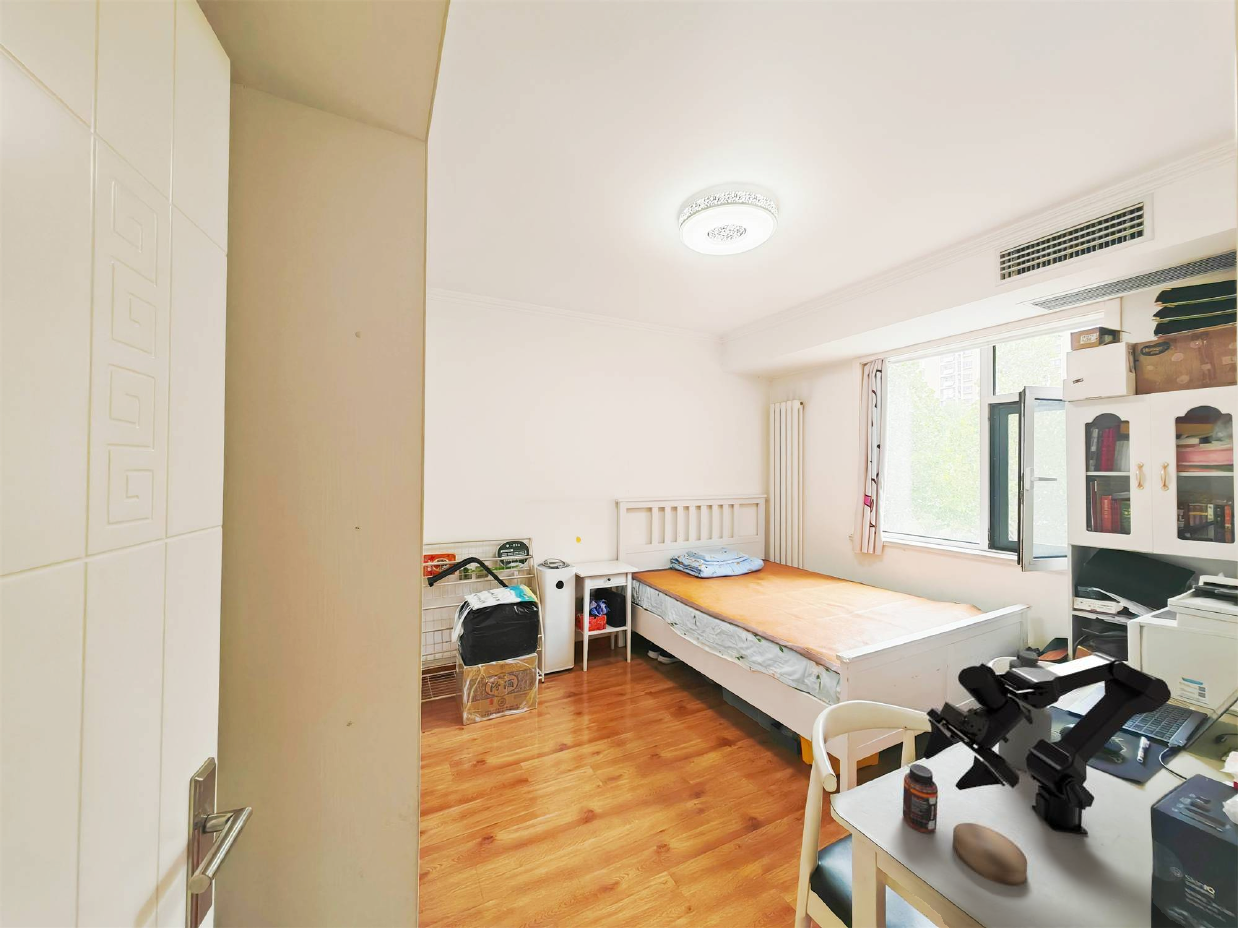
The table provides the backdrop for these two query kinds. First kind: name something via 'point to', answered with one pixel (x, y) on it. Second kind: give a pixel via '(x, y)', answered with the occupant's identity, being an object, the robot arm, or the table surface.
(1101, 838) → the table surface
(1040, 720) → the water bottle
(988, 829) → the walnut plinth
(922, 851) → the table surface
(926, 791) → the supplement bottle
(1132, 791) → the table surface
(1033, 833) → the table surface
